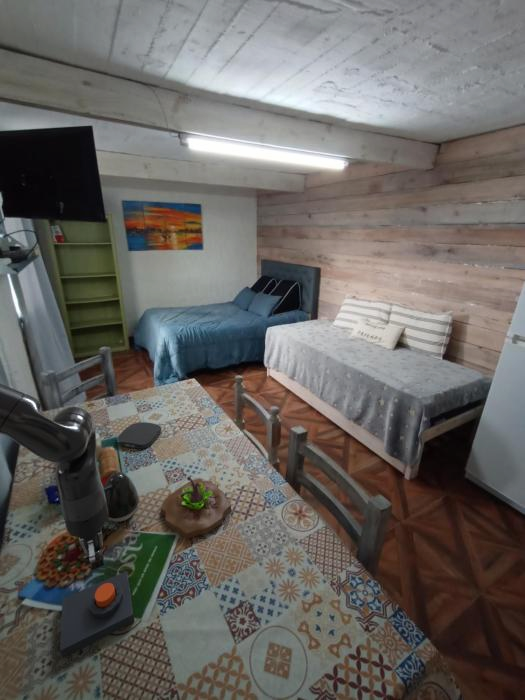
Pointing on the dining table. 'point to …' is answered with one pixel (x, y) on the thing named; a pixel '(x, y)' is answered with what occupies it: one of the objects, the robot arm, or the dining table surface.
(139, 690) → the dining table surface
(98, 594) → the lid button
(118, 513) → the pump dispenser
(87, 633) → the push button box
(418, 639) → the dining table surface
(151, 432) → the media streaming box
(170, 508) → the plant
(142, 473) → the dining table surface
